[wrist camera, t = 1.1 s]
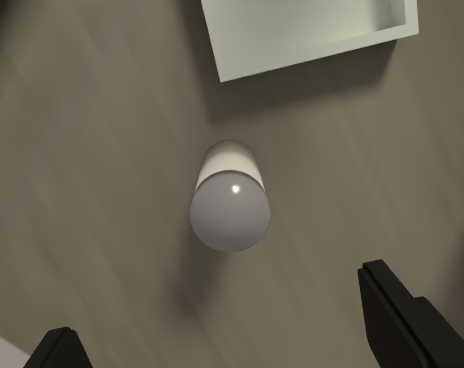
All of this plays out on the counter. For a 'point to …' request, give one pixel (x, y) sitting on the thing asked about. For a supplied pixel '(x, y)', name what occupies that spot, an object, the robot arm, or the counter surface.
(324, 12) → the tray
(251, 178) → the shaker
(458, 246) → the counter surface
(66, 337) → the robot arm
